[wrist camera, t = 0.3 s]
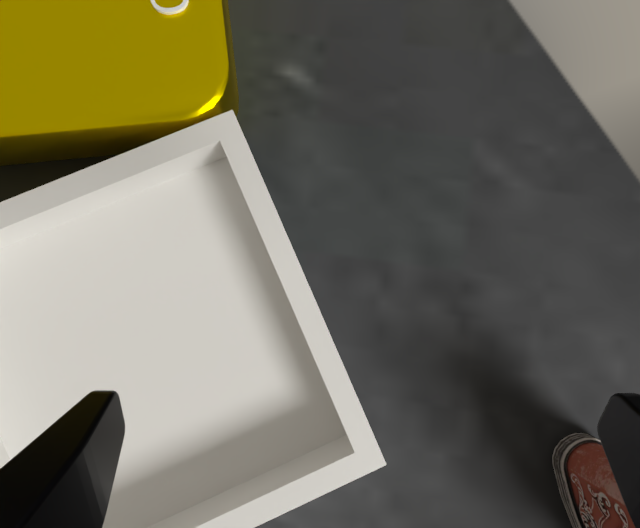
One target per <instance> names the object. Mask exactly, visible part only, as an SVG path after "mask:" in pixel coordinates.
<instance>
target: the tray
mask: <svg viewBox="0 0 640 528" xmlns="http://www.w3.org/2000/svg"><path fill="white" fill-rule="evenodd" d="M95 390H113V391H116V392H117V393H118V395H119V398H120V402H121V407H122V411H123V416H124V421H125V435H124V440H123V444H122V448H121V453H120V457H119V461H118V465H117V470H116V474H115V478H114V482H113V487H112V491H111V495H110V500H109V504H108V508H107V512H106V516H105V520H104V523H103V527H102V528H254V527H256V526H259V525H261V524H263V523H265V522H267V521H269V520H271V519H273V518H275V517H278V516H280V515H282V514H284V513H286V512H288V511H290V510H292V509H294V508H297V507H299V506H301V505H303V504H305V503H307V502H309V501H311V500H313V499H316V498H318V497H320V496H322V495H324V494H326V493H328V492H330V491H332V490H335V489H337V488H339V487H341V486H343V485H345V484H347V483H349V482H351V481H354V480H356V479H358V478H360V477H362V476H364V475H366V474H368V473H370V472H373V471H375V470H377V469H379V468H381V467H383V466H385V465H387V464H386V462H385V460H384V458H383V455H382V453H381V451H380V448H379V446H378V444H377V441H376V439H375V437H374V434H373V432H372V430H371V428H370V425H369V423H368V421H367V418H366V416H365V414H364V411H363V409H362V407H361V404H360V402H359V400H358V398H357V395H356V393H355V391H354V388H353V386H352V384H351V381H350V379H349V377H348V374H347V372H346V370H345V368H344V365H343V363H342V361H341V358H340V356H339V354H338V351H337V349H336V347H335V345H334V342H333V340H332V338H331V335H330V333H329V331H328V328H327V326H326V324H325V321H324V319H323V317H322V315H321V312H320V310H319V308H318V305H317V303H316V301H315V298H314V296H313V294H312V291H311V289H310V287H309V285H308V282H307V280H306V278H305V275H304V273H303V271H302V268H301V266H300V264H299V261H298V259H297V257H296V255H295V252H294V250H293V248H292V245H291V243H290V241H289V238H288V236H287V234H286V232H285V229H284V227H283V225H282V222H281V220H280V218H279V215H278V213H277V211H276V208H275V206H274V204H273V202H272V199H271V197H270V195H269V192H268V190H267V188H266V185H265V183H264V181H263V178H262V176H261V174H260V172H259V169H258V167H257V165H256V162H255V160H254V158H253V155H252V153H251V151H250V149H249V146H248V144H247V142H246V139H245V137H244V135H243V132H242V130H241V128H240V125H239V123H238V121H237V119H236V116H235V114H234V112H233V110H230V111H228V112H225V113H223V114H220V115H218V116H215V117H213V118H210V119H208V120H205V121H203V122H200V123H198V124H195V125H193V126H190V127H188V128H185V129H183V130H180V131H178V132H175V133H173V134H170V135H168V136H165V137H162V138H160V139H157V140H155V141H152V142H150V143H147V144H145V145H142V146H140V147H137V148H135V149H132V150H130V151H127V152H125V153H122V154H120V155H117V156H115V157H112V158H110V159H107V160H105V161H102V162H100V163H97V164H95V165H92V166H90V167H87V168H85V169H82V170H80V171H77V172H75V173H72V174H70V175H67V176H65V177H62V178H60V179H57V180H55V181H52V182H50V183H47V184H45V185H42V186H40V187H37V188H35V189H32V190H30V191H27V192H25V193H22V194H20V195H17V196H15V197H12V198H10V199H7V200H5V201H2V202H0V468H2V467H3V466H4V465H5V464H6V463H7V462H9V461H10V460H11V459H12V458H13V457H15V456H16V455H17V454H18V453H19V452H20V451H22V450H23V449H24V448H25V447H26V446H27V445H29V444H30V443H31V442H32V441H33V440H34V439H36V438H37V437H38V436H39V435H40V434H41V433H43V432H44V431H45V430H46V429H47V428H48V427H50V426H51V425H52V424H53V423H54V422H56V421H57V420H58V419H59V418H60V417H61V416H63V415H64V414H65V413H66V412H67V411H68V410H70V409H71V408H72V407H73V406H74V405H75V404H77V403H78V402H79V401H80V400H81V399H82V398H84V397H85V396H86V395H87V394H88V393H90V392H92V391H95Z"/></svg>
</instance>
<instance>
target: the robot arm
mask: <svg viewBox="0 0 640 528" xmlns="http://www.w3.org/2000/svg"><path fill="white" fill-rule="evenodd" d="M124 435H125V421H124V416H123V411H122V407H121V402H120V398H119V395H118V393H117V392H116V391H113V390H95V391H92V392H90V393H88V394H87V395H86V396H85V397H84V398H82V399H81V400H80V401H79V402H78V403H77V404H75V405H74V406H73V407H72V408H71V409H70V410H68V411H67V412H66V413H65V414H64V415H63V416H61V417H60V418H59V419H58V420H57V421H56V422H54V423H53V424H52V425H51V426H50V427H48V428H47V429H46V430H45V431H44V432H43V433H41V434H40V435H39V436H38V437H37V438H36V439H34V440H33V441H32V442H31V443H30V444H29V445H27V446H26V447H25V448H24V449H23V450H22V451H20V452H19V453H18V454H17V455H16V456H15V457H13V458H12V459H11V460H10V461H9V462H7V463H6V464H5V465H4V466H3V467H2V468H0V528H102V527H103V523H104V520H105V516H106V512H107V508H108V504H109V500H110V495H111V491H112V487H113V482H114V478H115V474H116V470H117V465H118V461H119V457H120V453H121V448H122V444H123V440H124ZM598 436H599V439H600V441H601V444H602V447H603V449H604V452H605V454H606V457H607V459H608V462H609V465H610V467H611V470H612V472H613V475H614V478H615V480H616V483H617V485H618V488H619V490H620V493H621V496H622V498H623V501H624V503H625V506H626V508H627V510H628V513H629V515H630V517H631V520H632V522H633V524H634V526H635V528H640V395H639V394H635V393H617V394H614V395H613V396H611V398H610V400H609V402H608V404H607V406H606V408H605V410H604V412H603V414H602V416H601V418H600V420H599V422H598Z"/></svg>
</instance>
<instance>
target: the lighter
mask: <svg viewBox="0 0 640 528" xmlns="http://www.w3.org/2000/svg"><path fill="white" fill-rule="evenodd" d="M552 462H553V468H554V472H555V476H556V480H557V484H558V488H559V492H560V495H561V498H562V501H563V503H564V506H565V509H566V511H567V514H568V517H569V519H570V522H571V524H572V527H573V528H635V526H634V524H633V522H632V520H631V517H630V515H629V513H628V510H627V508H626V506H625V503H624V501H623V498H622V496H621V493H620V490H619V488H618V485H617V483H616V480H615V478H614V475H613V472H612V470H611V467H610V465H609V462H608V459H607V457H606V454H605V452H604V449H603V447H602V444H601V441H600V440H599V439H597V438H595V437H593V436H590V435H588V434H585V433H574V434H571V435H568V436H566V437H565V438H564V439H562V440H561V441H560V442H559V443H558V445H557V446H556V447H555V449H554V452H553V456H552Z"/></svg>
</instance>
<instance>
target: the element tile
mask: <svg viewBox="0 0 640 528" xmlns="http://www.w3.org/2000/svg"><path fill="white" fill-rule="evenodd" d="M238 103H239V96H238V87H237V78H236V69H235V60H234V52H233V43H232V34H231V25H230V16H229V8H228V0H0V166H5V165H15V164H26V163H36V162H46V161H56V160H67V159H77V158H87V157H98V156H108V155H118V154H122V153H125V152H127V151H130V150H132V149H135V148H137V147H140V146H142V145H145V144H147V143H150V142H152V141H155V140H157V139H160V138H162V137H165V136H168V135H170V134H173V133H175V132H178V131H180V130H183V129H185V128H188V127H190V126H193V125H195V124H198V123H200V122H203V121H205V120H208V119H210V118H213V117H215V116H218V115H220V114H223V113H225V112H228V111H230V110H233V112H234V114H235V116H237V113H238Z"/></svg>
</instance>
